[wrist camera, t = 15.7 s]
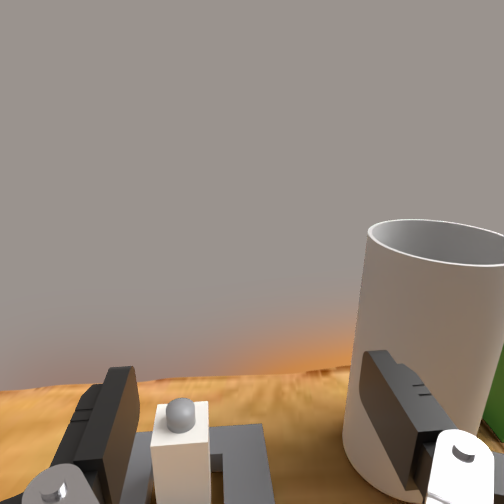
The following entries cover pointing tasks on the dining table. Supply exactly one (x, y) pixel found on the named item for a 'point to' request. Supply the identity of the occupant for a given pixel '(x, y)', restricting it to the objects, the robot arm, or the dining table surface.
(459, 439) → the robot arm
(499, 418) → the green cereal box
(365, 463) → the cylinder vase
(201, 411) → the white block with knob
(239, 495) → the socket plate
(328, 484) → the dining table surface
